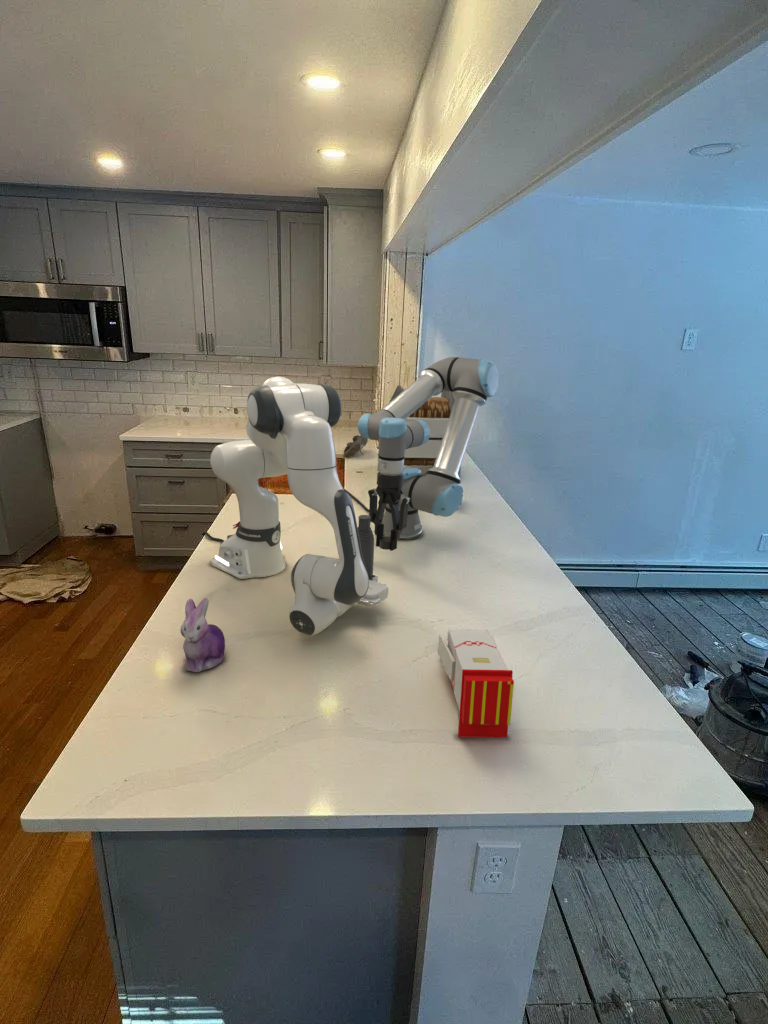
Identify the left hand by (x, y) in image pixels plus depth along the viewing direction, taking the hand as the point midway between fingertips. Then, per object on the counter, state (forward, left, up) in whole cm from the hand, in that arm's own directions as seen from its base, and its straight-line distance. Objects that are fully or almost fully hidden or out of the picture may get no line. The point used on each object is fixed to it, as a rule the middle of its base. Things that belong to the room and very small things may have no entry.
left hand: (364, 574), depth 154 cm
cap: (-3, +19, +3) cm, 19 cm away
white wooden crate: (-37, +122, -6) cm, 128 cm away
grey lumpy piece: (-81, +136, -6) cm, 159 cm away
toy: (+40, -25, -6) cm, 47 cm away
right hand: (-3, +18, +1) cm, 19 cm away
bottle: (0, -1, -6) cm, 6 cm away
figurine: (-15, -45, -6) cm, 48 cm away
